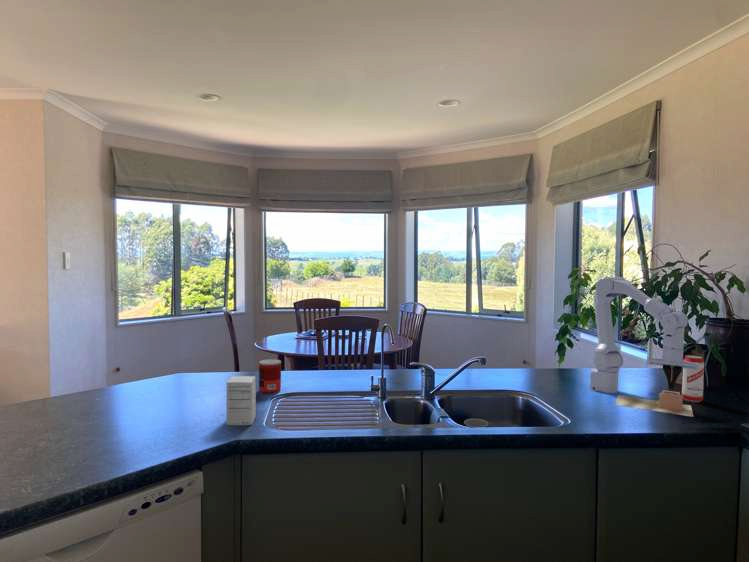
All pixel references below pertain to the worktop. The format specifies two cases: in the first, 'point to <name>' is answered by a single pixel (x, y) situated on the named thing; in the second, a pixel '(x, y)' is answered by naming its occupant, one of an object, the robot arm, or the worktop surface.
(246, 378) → the supplement box
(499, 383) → the worktop surface
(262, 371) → the canned food
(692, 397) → the beer can
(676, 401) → the tan boxy piece
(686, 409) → the board
